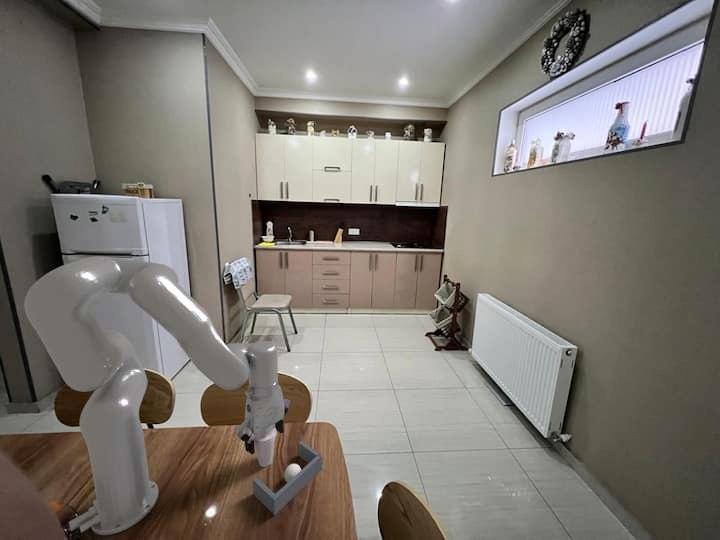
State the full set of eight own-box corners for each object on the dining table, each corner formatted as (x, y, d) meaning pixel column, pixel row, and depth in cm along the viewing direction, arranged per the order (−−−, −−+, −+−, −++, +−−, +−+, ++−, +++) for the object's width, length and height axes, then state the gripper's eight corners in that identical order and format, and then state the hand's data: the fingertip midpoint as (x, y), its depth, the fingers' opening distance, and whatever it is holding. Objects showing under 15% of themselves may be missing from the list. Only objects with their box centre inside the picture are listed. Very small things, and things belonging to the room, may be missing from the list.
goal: (274, 515, 68) (274, 499, 67) (253, 494, 73) (253, 479, 72) (322, 469, 81) (322, 455, 80) (301, 453, 86) (301, 440, 85)
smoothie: (270, 473, 79) (268, 428, 76) (249, 468, 80) (247, 424, 77) (280, 454, 85) (280, 413, 82) (261, 450, 86) (259, 409, 84)
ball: (282, 467, 75) (279, 481, 76) (294, 478, 73) (291, 492, 74) (294, 456, 79) (291, 469, 80) (306, 466, 77) (303, 479, 78)
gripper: (242, 408, 69) (245, 468, 72) (297, 377, 83) (297, 429, 86) (226, 396, 73) (229, 453, 77) (280, 369, 87) (281, 418, 90)
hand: (265, 440), depth 81 cm, fingers open, 9 cm apart
